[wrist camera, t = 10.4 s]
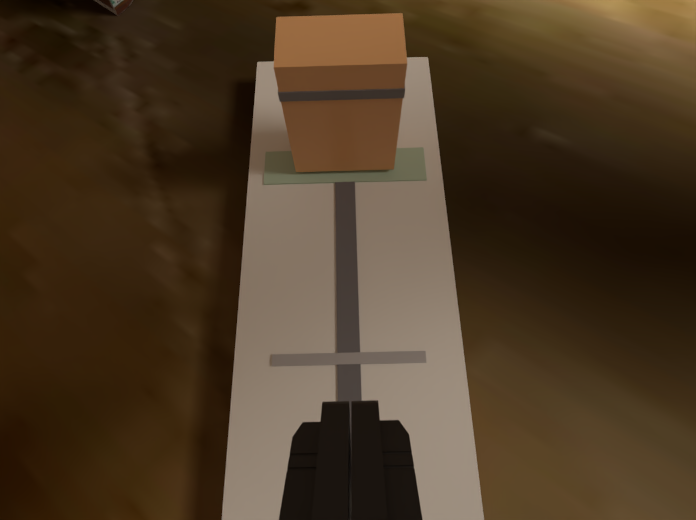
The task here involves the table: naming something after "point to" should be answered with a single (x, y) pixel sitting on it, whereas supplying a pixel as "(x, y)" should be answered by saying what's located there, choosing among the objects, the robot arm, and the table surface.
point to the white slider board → (348, 310)
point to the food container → (115, 5)
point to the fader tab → (341, 89)
